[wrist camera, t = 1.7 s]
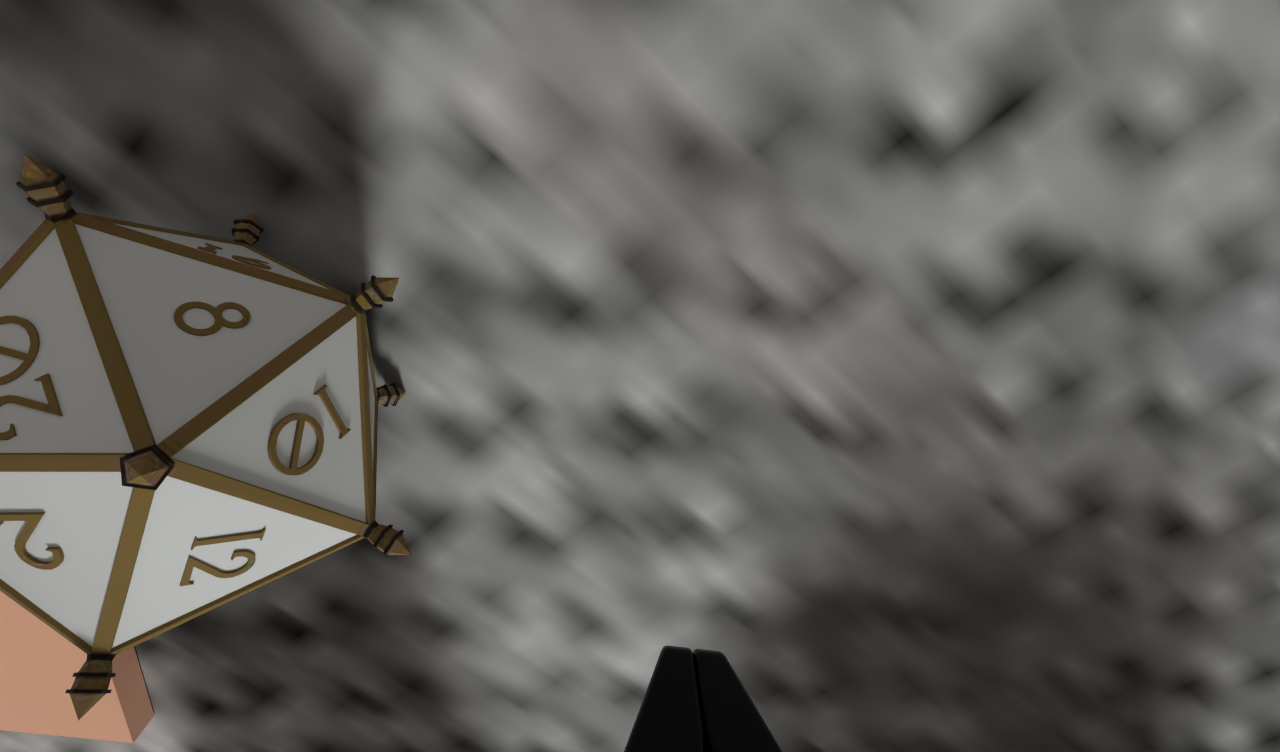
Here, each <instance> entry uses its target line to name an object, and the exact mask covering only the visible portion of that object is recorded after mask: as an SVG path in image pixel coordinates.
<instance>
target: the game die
mask: <svg viewBox="0 0 1280 752" xmlns="http://www.w3.org/2000/svg"><path fill="white" fill-rule="evenodd" d="M65 178H66V177H65V175H64V174H60V175H58V174H56V173H55V172H53V171H51V170H50V169H48V168H46V167H45V166H43V165H41V164H40V163H38V162H36V161H35V160H33V159H32V158H30V157H28V156H27V155H25V154H24V160H23V166H22V173H21V180H20V182H17V183H16V184H17V186H18V187H19V188H21V189H23V190H24V191H26V192H27V194H28V195H29V198H26V199H27V200H28V202H29V203H31V204H33V205H34V206H36V207H39V208H40V209H41V210H42V211H43V212H44V213H45V217H46V219H45V221H44V222H43V223H42V224H41V225H40V226H39V227H38V228H37V229H36V231H35V232H34V233H33V234H32V235H31V236H30V237H29V238H28V239H27V241H26V242H25V243H24V244H23V245H22V246H21V247H20V248H19V249H18V251H17V252H16V253H15V254H14V255H13V256H12V257H11V258H10V259H9V261H8V262H7V263H6V264H5V265H4V266H3V267H2V268H1V269H0V591H1V592H3V593H4V594H5V595H7V596H8V597H9V598H11V599H12V600H14V601H15V602H16V603H18V604H19V605H20V606H22V607H23V608H25V609H26V610H27V611H29V612H30V613H31V614H33V615H34V616H36V617H37V618H38V619H40V620H41V621H42V622H44V623H45V624H46V625H48V626H49V627H51V628H52V629H53V630H55V631H56V632H57V633H59V634H60V635H62V636H63V637H64V638H66V639H67V640H68V641H70V642H71V643H73V644H74V645H75V646H77V647H78V648H79V649H81V650H82V651H84V652H85V653H86V654H87V660H86V662H85V663H84V664H83V666H82V667H81V669H80V670H79V672H77V673H74V674H73V676H72V677H76V678H75V680H74V683H73V685H72V687H71V689H67V690H66V692H65V693H69V694H70V697H71V700H72V703H73V706H74V709H75V712H76V715H77V718H78V721H79V720H80V719H81V718H82V717H83V716H84V715H85V714H86V713H87V712H88V711H89V710H90V709H91V708H92V707H93V706H94V705H95V704H96V703H97V702H98V701H99V700H100V699H101V698H102V697H103V696H104V695H105V694H106V693H111V691H112V690H108V688H109V684H110V680H111V677H115V675H116V673H112V660H113V659H114V657H115V656H116V655H117V654H119V653H121V652H123V651H125V650H128V649H130V648H132V647H134V646H136V645H138V644H140V643H142V642H145V641H147V640H149V639H151V638H153V637H155V636H157V635H159V634H162V633H164V632H166V631H168V630H170V629H172V628H174V627H176V626H179V625H181V624H183V623H185V622H187V621H189V620H191V619H193V618H195V617H198V616H200V615H202V614H204V613H206V612H208V611H210V610H212V609H215V608H217V607H219V606H221V605H223V604H225V603H227V602H229V601H232V600H234V599H236V598H238V597H240V596H242V595H244V594H246V593H249V592H251V591H253V590H255V589H257V588H259V587H261V586H263V585H266V584H268V583H270V582H272V581H274V580H276V581H277V579H278V578H280V577H282V576H285V575H287V574H289V573H291V572H293V571H295V570H297V569H299V568H302V567H304V566H306V565H308V564H310V563H312V562H314V561H316V560H319V559H321V558H323V557H325V556H327V555H329V554H331V553H333V552H336V551H338V550H340V549H342V548H344V547H346V546H348V545H350V544H352V543H355V542H357V541H359V540H361V539H363V538H365V539H368V540H369V541H370V542H371V543H372V544H373V548H374V550H376V551H377V549H379V550H380V551H382V552H383V554H384V556H385V557H386V558H387V556H388V555H411V553H410V551H409V548H408V546H407V544H406V541H405V539H404V537H403V535H402V534H403V532H404V531H403V530H401V531H397V530H395V529H393V528H392V526H393V525H391V524H390V525H389V526H384V525H379V524H378V523H377V522H376V521H375V509H376V465H377V421H378V403H379V404H382V405H383V406H385V407H388V404H391V405H393V406H396V404H397V402H398V400H399V399H400V398H401V397H402V396H403V395H404V394H405V392H404V391H402V390H401V389H399V388H398V387H396V385H395V383H393V384H390V385H388V386H387V385H383V386H381V387H379V388H376V381H375V374H374V368H373V361H372V354H371V348H370V341H369V334H368V327H367V321H366V314H365V312H366V311H367V310H368V309H371V308H381V307H383V306H382V304H383V303H385V302H392V301H394V300H393V298H392V296H393V293H394V291H395V288H396V285H397V283H398V280H399V278H376V277H375V276H374V275H373V276H371V281H369V282H368V283H367V284H365V283H362V284H361V289H360V290H359V292H358V293H357V294H356V295H353V296H350V295H348V294H346V293H344V292H342V291H340V290H338V289H336V288H334V287H332V286H330V285H328V284H326V283H324V282H322V281H320V280H318V279H316V278H313V277H311V276H309V275H307V274H305V273H303V272H301V271H299V270H297V269H295V268H293V267H291V266H289V265H287V264H285V263H283V262H281V261H279V260H277V259H275V258H273V257H271V256H269V255H267V254H265V253H263V252H261V251H259V250H257V249H255V248H253V247H252V245H253V244H255V243H256V242H257V241H258V240H260V237H259V236H258V235H259V234H260V233H262V232H263V230H264V229H262V228H261V227H260V226H259V224H258V222H257V220H256V218H255V216H254V214H251V215H249V216H247V217H245V218H242V219H240V220H234V224H235V228H232V230H231V231H232V233H233V236H234V241H231V240H225V239H220V238H214V237H209V236H203V235H198V234H192V233H187V232H181V231H176V230H170V229H165V228H159V227H154V226H148V225H143V224H137V223H132V222H126V221H121V220H115V219H110V218H104V217H99V216H93V215H88V214H82V213H77V212H75V211H74V210H73V208H72V207H71V201H70V196H72V195H73V192H72V190H67V189H66V187H65V185H64V183H63V180H64V179H65Z"/></svg>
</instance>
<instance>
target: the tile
mask: <svg viewBox="0 0 1280 752" xmlns="http://www.w3.org/2000/svg"><path fill="white" fill-rule="evenodd" d="M86 660H87V654H86V653H85V652H84V651H82V650H81V649H79V648H78V647H77V646H75V645H74V644H73V643H71V642H70V641H68V640H67V639H66V638H64V637H63V636H62V635H60V634H59V633H57V632H56V631H55V630H53V629H52V628H51V627H49V626H48V625H46V624H45V623H44V622H42V621H41V620H40V619H38V618H37V617H36V616H34V615H33V614H31V613H30V612H29V611H27V610H26V609H25V608H23V607H22V606H20V605H19V604H18V603H16V602H15V601H14V600H12V599H11V598H9V597H8V596H7V595H5V594H4V593H3V592H1V591H0V730H5V731H16V732H26V733H36V734H46V735H56V736H66V737H77V738H87V739H97V740H107V741H117V742H127V743H134V741H135V740H136V739H137V737H138V736H139V735H140V733H141V732H142V731H143V729H144V728H145V727H146V725H147V724H148V723H149V721H150V720H151V719H152V718H153V716H154V713H153V709H152V706H151V702H150V699H149V696H148V692H147V689H146V686H145V682H144V679H143V675H142V672H141V669H140V665H139V662H138V659H137V655H136V652H135V649H134V647H132V648H130V649H128V650H125V651H123V652H121V653H119V654H117V655H116V656H115V657H114V659H113V660H112V673H116V675H115V677H111V680H110V684H109V688H108V690H112V691H111V693H106V694H105V695H104V696H103V697H102V698H101V699H100V700H99V701H98V702H97V703H96V704H95V705H94V706H93V707H92V708H91V709H90V710H89V711H88V712H87V713H86V714H85V715H84V716H83V717H82V718H81V719H80V720H79V721H78V718H77V715H76V712H75V709H74V706H73V703H72V700H71V697H70V694H69V693H65V692H66V690H67V689H71V687H72V685H73V683H74V680H75V678H76V677H72V676H73V674H74V673H77V672H79V670H80V669H81V667H82V666H83V664H84V663H85V662H86Z"/></svg>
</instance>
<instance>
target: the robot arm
mask: <svg viewBox="0 0 1280 752" xmlns="http://www.w3.org/2000/svg"><path fill="white" fill-rule="evenodd" d="M624 752H782V751H781V749H780V747H779V746H778V744H777V742H776V741H775V739H774V737H773V736H772V734H771V732H770V731H769V729H768V727H767V726H766V724H765V722H764V720H763V719H762V717H761V715H760V714H759V712H758V710H757V709H756V707H755V705H754V704H753V702H752V700H751V699H750V697H749V695H748V694H747V692H746V690H745V689H744V687H743V685H742V683H741V682H740V680H739V678H738V677H737V675H736V673H735V672H734V670H733V668H732V667H731V665H730V663H729V662H728V660H727V658H726V657H725V655H724V654H722V653H721V652H719V651H711V650H702V649H696V650H694V651H693V653H692V651H691V650H690V649H689V648H684V647H675V646H665V647H663V649H662V651H661V653H660V656H659V659H658V661H657V664H656V667H655V669H654V672H653V675H652V678H651V680H650V683H649V686H648V688H647V691H646V694H645V696H644V699H643V702H642V705H641V707H640V710H639V713H638V715H637V718H636V721H635V724H634V726H633V729H632V732H631V734H630V737H629V740H628V742H627V745H626V748H625V751H624Z"/></svg>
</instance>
